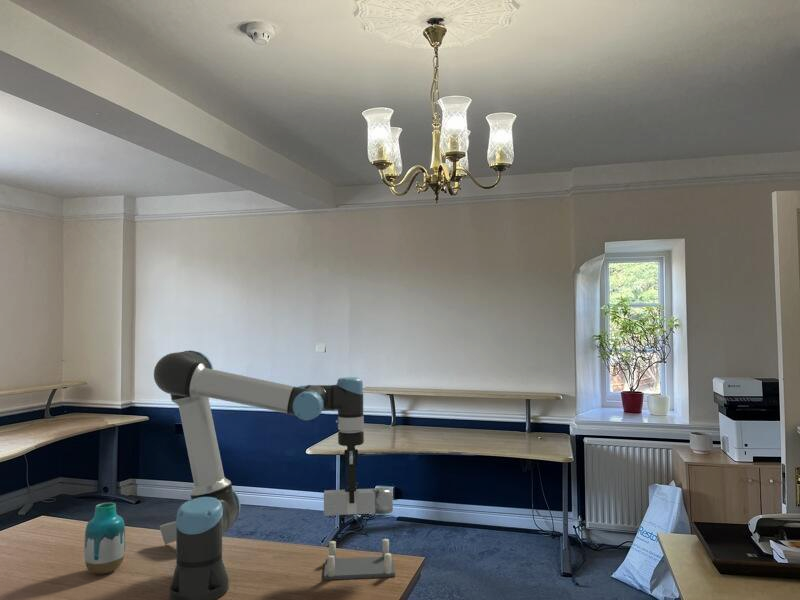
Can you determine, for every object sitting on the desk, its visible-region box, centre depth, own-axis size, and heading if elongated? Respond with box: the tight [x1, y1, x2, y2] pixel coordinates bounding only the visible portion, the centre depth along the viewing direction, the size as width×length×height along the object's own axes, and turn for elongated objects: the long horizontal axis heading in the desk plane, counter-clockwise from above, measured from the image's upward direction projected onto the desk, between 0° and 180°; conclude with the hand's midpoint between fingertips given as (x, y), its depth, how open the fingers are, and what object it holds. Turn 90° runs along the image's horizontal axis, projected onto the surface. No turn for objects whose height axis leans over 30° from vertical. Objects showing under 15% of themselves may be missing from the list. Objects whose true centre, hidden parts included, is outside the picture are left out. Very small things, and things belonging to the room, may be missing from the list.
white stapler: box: [159, 520, 176, 545], centre depth 187 cm, size 4×10×15 cm
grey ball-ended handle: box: [323, 486, 394, 516], centre depth 170 cm, size 20×6×6 cm, turn 95°
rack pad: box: [323, 538, 396, 581], centre depth 170 cm, size 20×13×6 cm, turn 95°
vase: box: [83, 501, 126, 575], centre depth 170 cm, size 11×11×19 cm
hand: (351, 510), depth 170 cm, fingers closed on grey ball-ended handle, 4 cm apart
